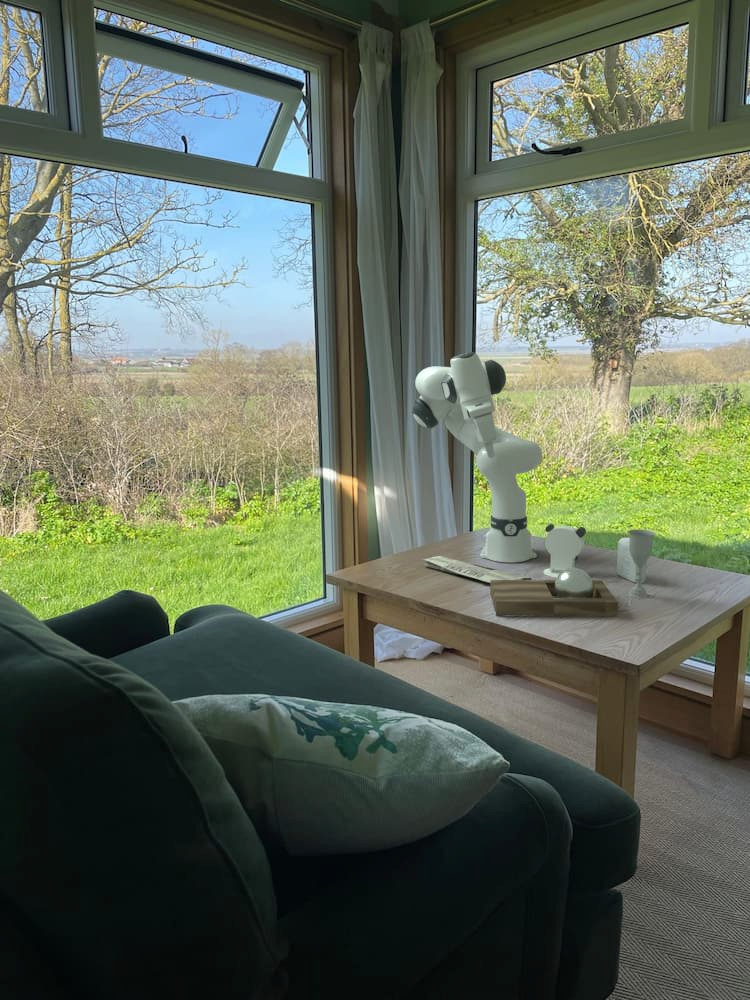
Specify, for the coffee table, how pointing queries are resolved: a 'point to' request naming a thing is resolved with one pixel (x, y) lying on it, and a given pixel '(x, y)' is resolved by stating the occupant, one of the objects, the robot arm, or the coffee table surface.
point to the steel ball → (573, 584)
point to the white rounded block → (628, 562)
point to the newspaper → (470, 570)
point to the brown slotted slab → (549, 599)
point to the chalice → (640, 556)
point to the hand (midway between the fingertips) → (491, 457)
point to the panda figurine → (563, 547)
